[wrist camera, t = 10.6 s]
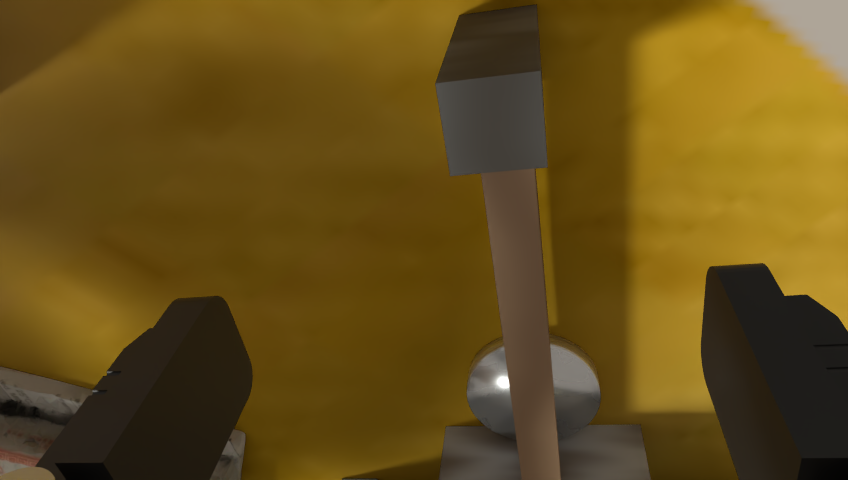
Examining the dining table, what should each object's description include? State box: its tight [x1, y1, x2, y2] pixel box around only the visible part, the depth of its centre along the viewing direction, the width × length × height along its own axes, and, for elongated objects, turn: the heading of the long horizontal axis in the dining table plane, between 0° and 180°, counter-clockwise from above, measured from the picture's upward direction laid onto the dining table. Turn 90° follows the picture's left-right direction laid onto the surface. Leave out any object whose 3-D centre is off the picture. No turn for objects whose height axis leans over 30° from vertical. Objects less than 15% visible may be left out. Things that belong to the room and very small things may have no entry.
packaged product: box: [0, 367, 245, 480], centre depth 42 cm, size 18×5×10 cm
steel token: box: [467, 334, 601, 440], centre depth 35 cm, size 7×7×2 cm
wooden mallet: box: [435, 4, 651, 480], centre depth 28 cm, size 11×25×8 cm, turn 10°
